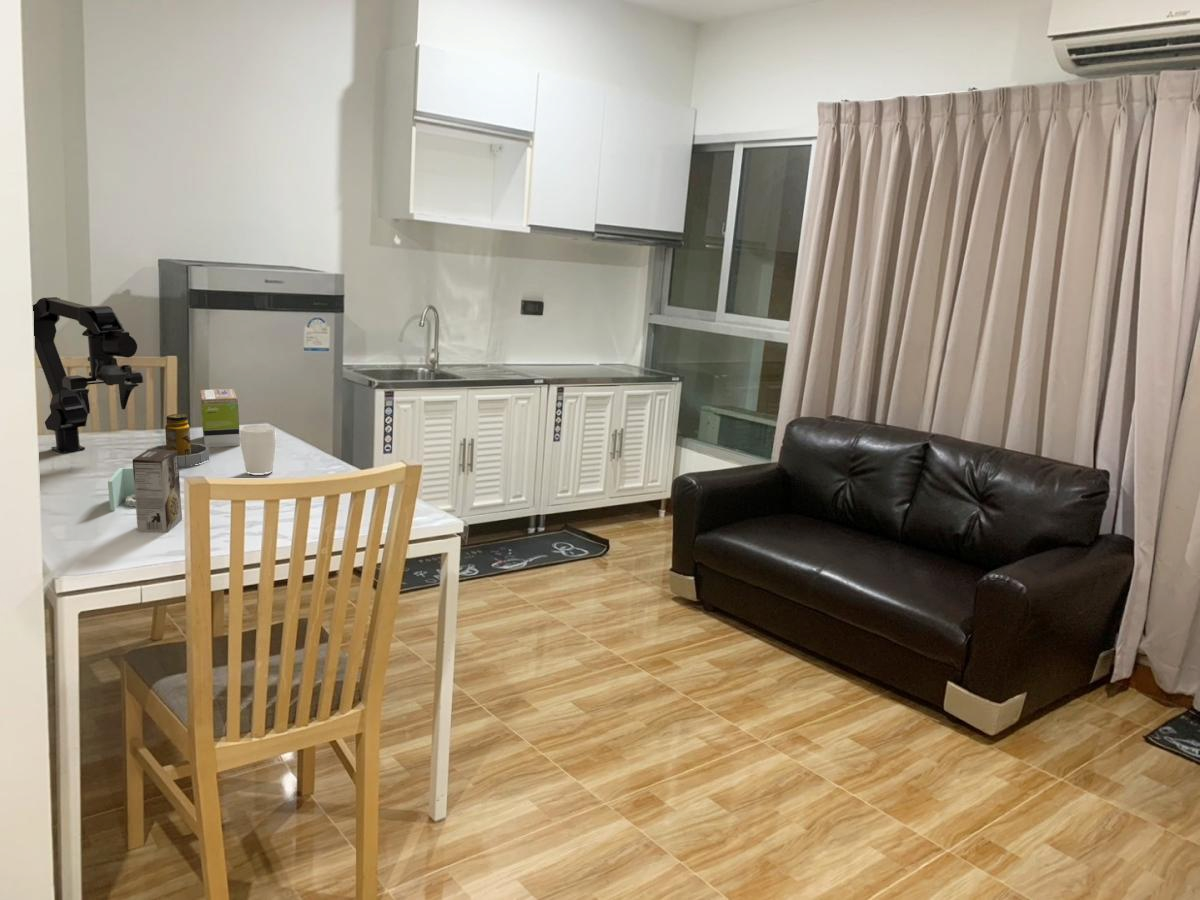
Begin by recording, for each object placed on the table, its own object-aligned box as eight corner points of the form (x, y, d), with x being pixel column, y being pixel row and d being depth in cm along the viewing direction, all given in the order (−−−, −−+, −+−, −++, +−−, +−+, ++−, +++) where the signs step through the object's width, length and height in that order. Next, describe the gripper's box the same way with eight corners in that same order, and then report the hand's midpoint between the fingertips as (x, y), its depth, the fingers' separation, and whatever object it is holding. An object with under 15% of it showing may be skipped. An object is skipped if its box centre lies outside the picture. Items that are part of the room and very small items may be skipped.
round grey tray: (136, 459, 250) (135, 449, 249) (191, 450, 262) (190, 440, 261) (165, 470, 241) (164, 459, 240) (220, 461, 253) (220, 450, 252)
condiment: (198, 458, 252) (195, 415, 249) (170, 464, 245) (167, 420, 242) (181, 453, 256) (179, 411, 253) (153, 459, 249) (150, 416, 246)
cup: (284, 471, 246) (283, 427, 243) (262, 478, 238) (260, 434, 235) (257, 466, 249) (255, 423, 246) (233, 474, 241) (231, 429, 238)
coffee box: (153, 519, 203) (148, 448, 199) (183, 519, 204) (178, 449, 200) (136, 532, 194) (130, 458, 191) (167, 533, 195) (162, 459, 191)
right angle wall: (110, 513, 207) (107, 481, 205) (122, 498, 218) (119, 467, 217) (168, 511, 210) (165, 479, 209) (176, 496, 222) (174, 466, 220)
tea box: (202, 436, 279) (199, 388, 275) (237, 435, 283) (235, 387, 280) (203, 448, 266) (201, 398, 262) (240, 446, 270) (238, 397, 266)
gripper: (78, 360, 231) (83, 420, 235) (151, 354, 246) (155, 411, 250) (58, 355, 238) (64, 413, 242) (131, 350, 252) (135, 405, 256)
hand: (106, 411), depth 247 cm, fingers open, 9 cm apart
